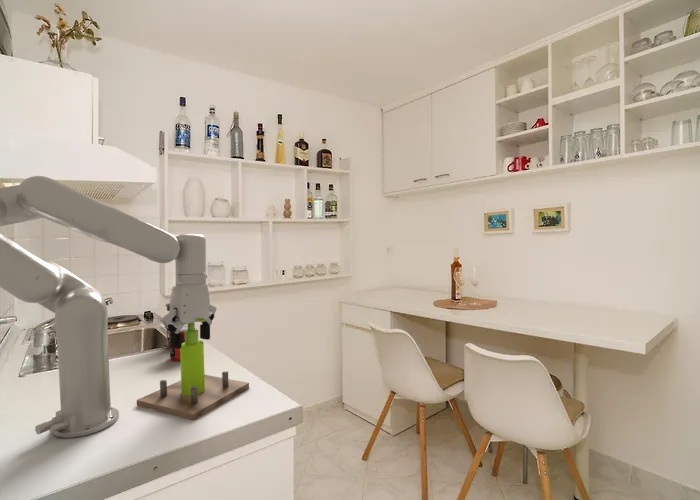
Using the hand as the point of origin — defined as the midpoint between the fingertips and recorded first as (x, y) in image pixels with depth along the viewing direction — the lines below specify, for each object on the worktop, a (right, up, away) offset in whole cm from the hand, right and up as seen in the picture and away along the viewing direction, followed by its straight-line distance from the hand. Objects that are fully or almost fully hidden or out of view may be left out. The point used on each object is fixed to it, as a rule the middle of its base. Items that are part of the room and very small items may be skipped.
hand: (191, 343), depth 101 cm
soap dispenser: (+1, -13, +1) cm, 14 cm away
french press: (-26, -13, +49) cm, 57 cm away
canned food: (-17, -14, +33) cm, 40 cm away
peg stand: (+1, -15, +1) cm, 15 cm away
